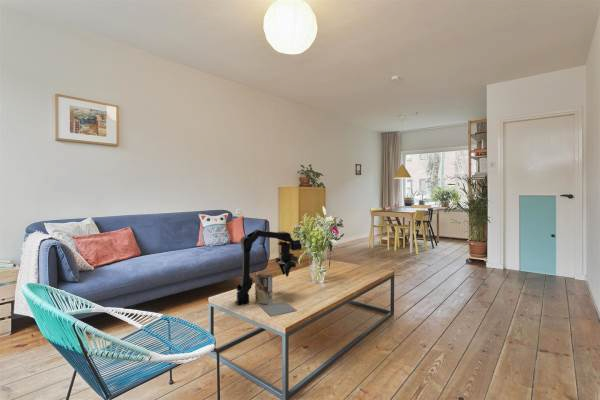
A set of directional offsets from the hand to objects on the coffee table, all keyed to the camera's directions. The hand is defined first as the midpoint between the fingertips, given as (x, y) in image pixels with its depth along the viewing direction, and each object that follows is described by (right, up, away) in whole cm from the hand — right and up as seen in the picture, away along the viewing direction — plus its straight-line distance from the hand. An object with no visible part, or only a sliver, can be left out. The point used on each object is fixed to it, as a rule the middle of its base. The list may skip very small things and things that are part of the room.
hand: (285, 275), depth 194 cm
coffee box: (-13, -14, -10) cm, 21 cm away
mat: (-3, -14, -21) cm, 25 cm away
